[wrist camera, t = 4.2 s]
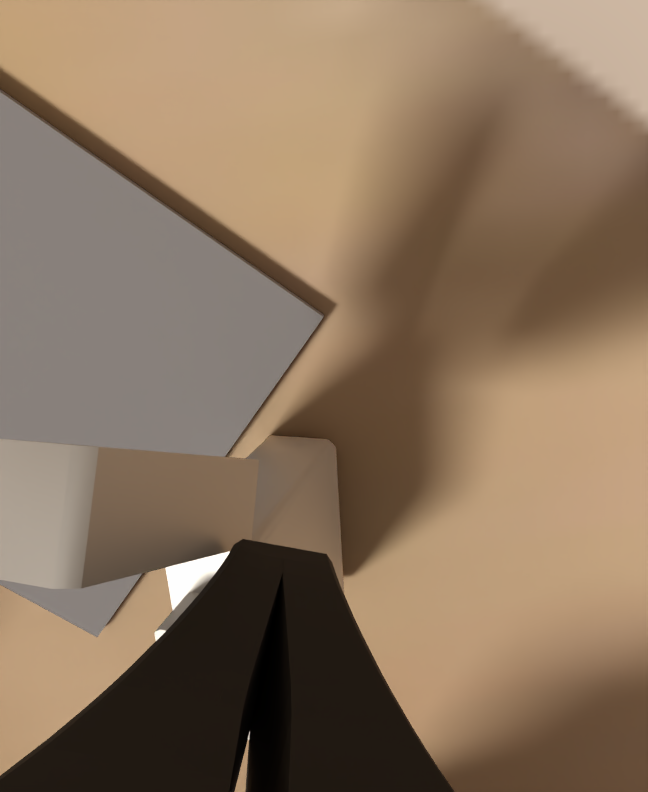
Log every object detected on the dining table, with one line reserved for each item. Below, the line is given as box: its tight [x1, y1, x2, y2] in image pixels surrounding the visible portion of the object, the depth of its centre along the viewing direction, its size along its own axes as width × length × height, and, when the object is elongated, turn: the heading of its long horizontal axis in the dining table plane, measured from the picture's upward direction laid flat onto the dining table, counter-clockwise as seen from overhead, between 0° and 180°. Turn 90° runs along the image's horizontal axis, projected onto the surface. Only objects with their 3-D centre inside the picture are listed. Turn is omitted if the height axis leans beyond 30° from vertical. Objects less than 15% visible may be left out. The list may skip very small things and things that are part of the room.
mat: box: [0, 89, 324, 637], centre depth 13 cm, size 10×10×1 cm
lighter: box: [0, 435, 344, 740], centre depth 10 cm, size 7×2×8 cm, turn 3°
